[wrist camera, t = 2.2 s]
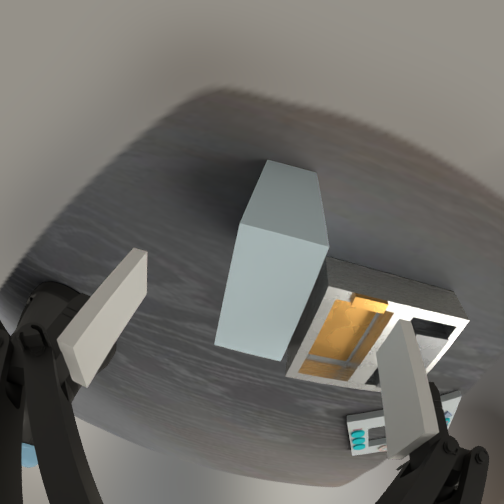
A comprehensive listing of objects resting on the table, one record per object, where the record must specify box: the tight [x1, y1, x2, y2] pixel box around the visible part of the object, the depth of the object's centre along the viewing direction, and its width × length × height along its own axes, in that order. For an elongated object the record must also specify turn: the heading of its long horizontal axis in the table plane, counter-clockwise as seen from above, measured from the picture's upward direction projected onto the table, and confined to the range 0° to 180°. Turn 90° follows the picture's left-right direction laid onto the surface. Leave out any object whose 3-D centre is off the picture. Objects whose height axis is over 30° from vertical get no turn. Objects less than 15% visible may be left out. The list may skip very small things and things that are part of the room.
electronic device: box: [347, 390, 461, 456], centre depth 40 cm, size 18×2×15 cm
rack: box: [285, 256, 469, 392], centre depth 28 cm, size 15×12×6 cm
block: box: [214, 160, 329, 361], centre depth 20 cm, size 4×8×12 cm, turn 168°
